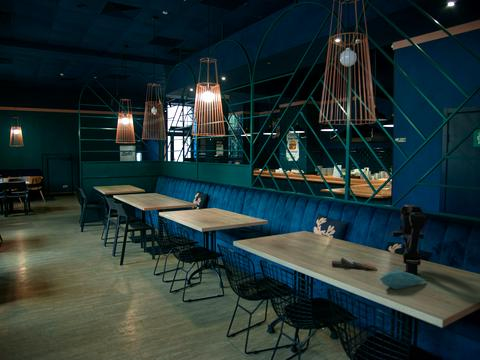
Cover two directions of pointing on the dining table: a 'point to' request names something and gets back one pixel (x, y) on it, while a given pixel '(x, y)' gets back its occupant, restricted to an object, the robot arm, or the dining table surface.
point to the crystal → (400, 279)
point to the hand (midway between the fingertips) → (407, 247)
